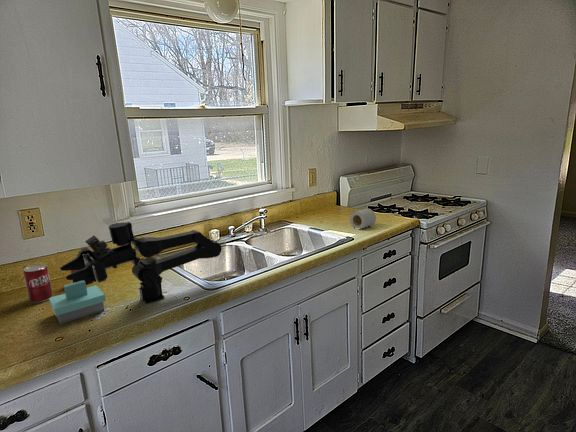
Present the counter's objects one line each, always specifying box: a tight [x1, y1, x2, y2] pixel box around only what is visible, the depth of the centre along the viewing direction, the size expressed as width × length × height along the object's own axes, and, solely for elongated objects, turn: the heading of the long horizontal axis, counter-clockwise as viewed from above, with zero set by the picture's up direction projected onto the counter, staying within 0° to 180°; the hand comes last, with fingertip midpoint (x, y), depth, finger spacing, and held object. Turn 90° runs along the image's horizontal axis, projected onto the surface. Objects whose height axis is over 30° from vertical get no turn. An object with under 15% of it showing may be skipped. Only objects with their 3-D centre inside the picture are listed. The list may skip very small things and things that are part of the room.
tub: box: [55, 302, 105, 325], centre depth 127 cm, size 13×9×5 cm
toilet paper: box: [349, 208, 377, 230], centre depth 213 cm, size 10×10×10 cm
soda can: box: [22, 264, 54, 304], centre depth 137 cm, size 7×7×12 cm
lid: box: [48, 281, 106, 317], centre depth 125 cm, size 14×10×7 cm
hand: (63, 273), depth 117 cm, fingers open, 9 cm apart
